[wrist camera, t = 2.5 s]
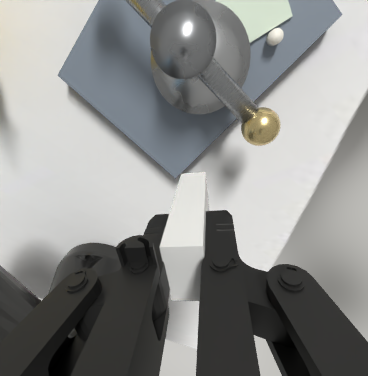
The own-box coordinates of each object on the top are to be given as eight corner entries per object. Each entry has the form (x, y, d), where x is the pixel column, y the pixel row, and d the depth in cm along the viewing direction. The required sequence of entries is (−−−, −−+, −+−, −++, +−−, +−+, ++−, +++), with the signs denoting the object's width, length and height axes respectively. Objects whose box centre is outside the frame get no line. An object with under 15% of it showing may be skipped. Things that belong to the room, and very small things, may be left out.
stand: (177, 172, 29) (174, 182, 26) (68, 75, 25) (50, 75, 22) (330, 20, 21) (350, 10, 18) (203, -161, 17) (203, -211, 14)
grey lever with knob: (72, 4, 20) (21, -25, 15) (128, -107, 17) (89, -200, 11) (229, 157, 25) (235, 179, 20) (296, 96, 22) (328, 101, 16)
